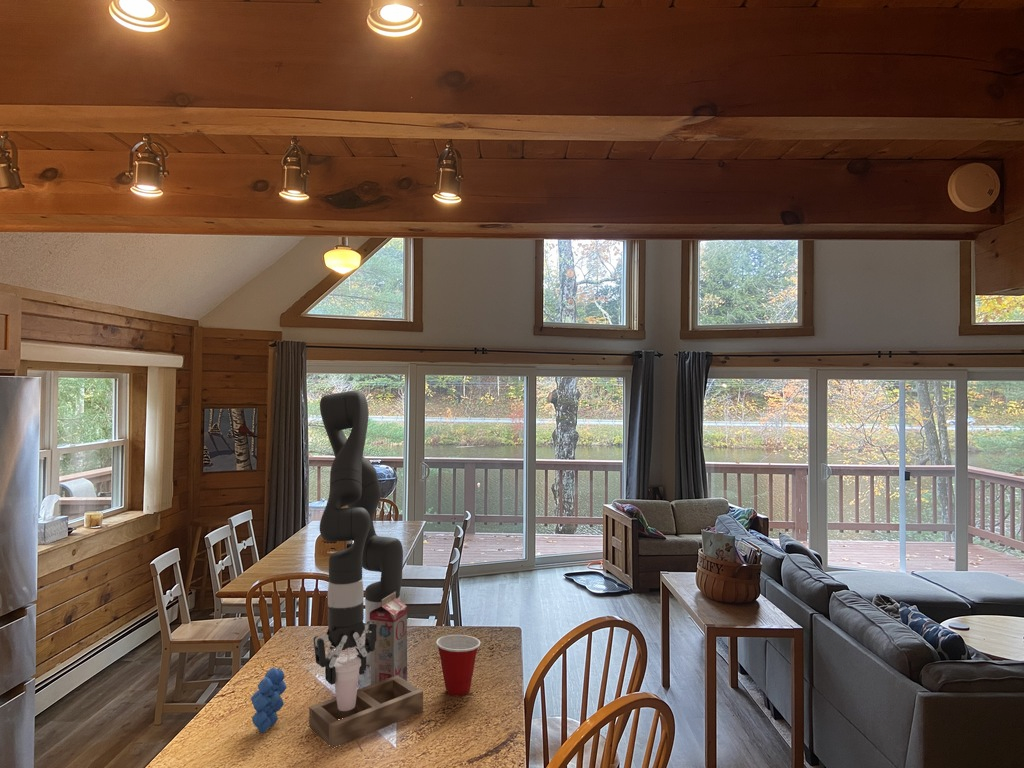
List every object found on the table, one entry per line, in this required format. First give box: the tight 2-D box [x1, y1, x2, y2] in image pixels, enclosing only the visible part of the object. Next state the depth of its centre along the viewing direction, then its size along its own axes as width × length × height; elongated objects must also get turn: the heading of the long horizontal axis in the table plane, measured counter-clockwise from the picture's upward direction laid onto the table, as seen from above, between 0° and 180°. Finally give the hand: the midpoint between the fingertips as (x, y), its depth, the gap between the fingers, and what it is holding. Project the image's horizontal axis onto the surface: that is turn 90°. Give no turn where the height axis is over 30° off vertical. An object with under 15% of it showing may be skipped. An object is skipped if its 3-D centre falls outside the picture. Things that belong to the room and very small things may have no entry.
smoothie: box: [334, 648, 361, 711], centre depth 134 cm, size 6×6×14 cm
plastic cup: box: [435, 634, 482, 697], centre depth 151 cm, size 11×11×12 cm
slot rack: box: [308, 675, 424, 749], centre depth 138 cm, size 22×11×4 cm, turn 132°
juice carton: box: [369, 592, 408, 685], centre depth 154 cm, size 7×7×22 cm
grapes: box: [250, 667, 287, 734], centre depth 135 cm, size 12×7×12 cm, turn 173°
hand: (346, 677), depth 134 cm, fingers closed on smoothie, 6 cm apart
